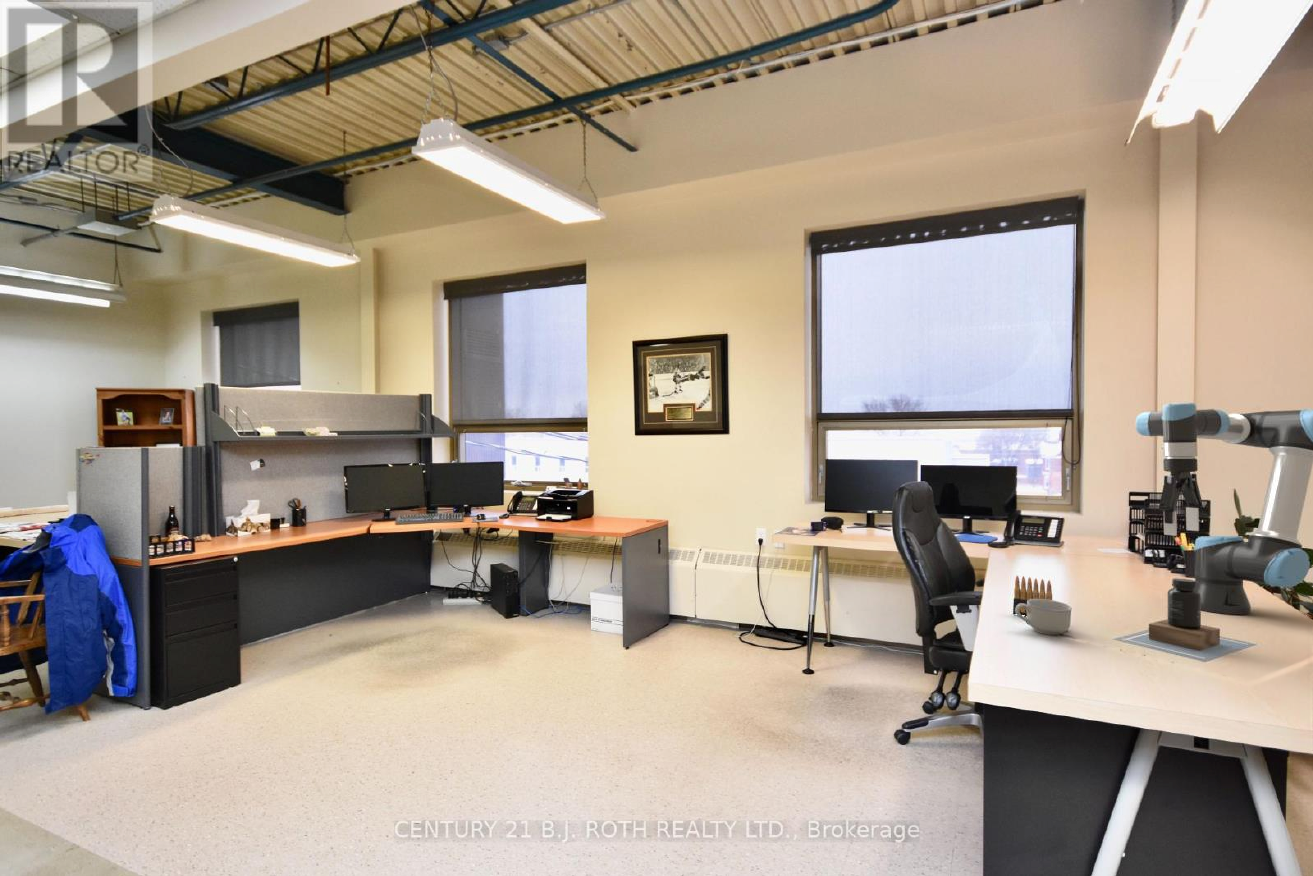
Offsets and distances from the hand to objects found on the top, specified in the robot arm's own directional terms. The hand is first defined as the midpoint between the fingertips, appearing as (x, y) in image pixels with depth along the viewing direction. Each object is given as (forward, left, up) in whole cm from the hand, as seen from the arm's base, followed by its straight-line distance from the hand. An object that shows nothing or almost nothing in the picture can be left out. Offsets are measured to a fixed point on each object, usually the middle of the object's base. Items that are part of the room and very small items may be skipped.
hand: (1181, 532), depth 185 cm
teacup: (+37, -18, -28) cm, 49 cm away
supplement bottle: (+17, +7, -22) cm, 29 cm away
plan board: (+17, +7, -27) cm, 33 cm away
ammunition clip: (+25, -28, -28) cm, 46 cm away
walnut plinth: (+17, +7, -26) cm, 32 cm away
